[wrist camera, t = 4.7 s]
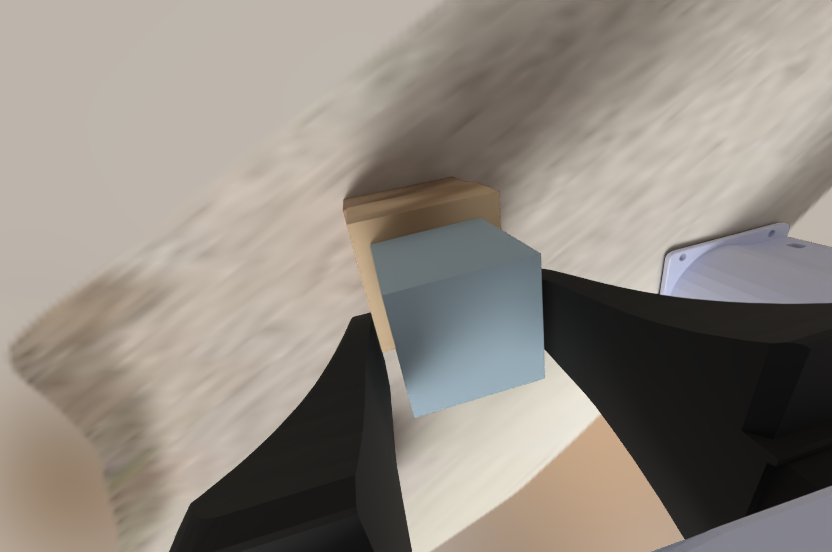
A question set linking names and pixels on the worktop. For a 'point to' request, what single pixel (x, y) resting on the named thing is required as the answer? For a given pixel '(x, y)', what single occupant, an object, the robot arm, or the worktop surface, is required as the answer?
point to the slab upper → (411, 231)
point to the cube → (462, 312)
